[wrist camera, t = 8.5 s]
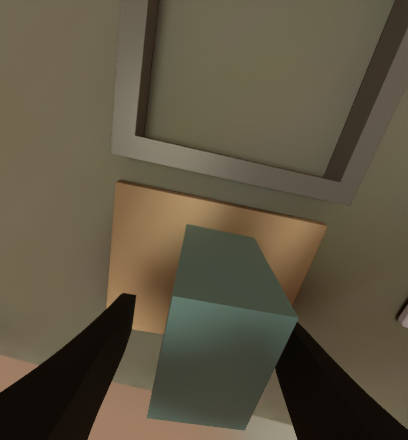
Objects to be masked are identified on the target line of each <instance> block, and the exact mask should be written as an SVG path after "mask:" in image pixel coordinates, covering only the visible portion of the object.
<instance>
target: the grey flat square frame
mask: <svg viewBox="0 0 408 440" xmlns="http://www.w3.org/2000/svg"><path fill="white" fill-rule="evenodd" d="M158 2H159V0H121V4H120V19H119V35H118V50H117V66H116V82H115V97H114V113H113V128H112V144H111V154H116V155H120V156H125V157H129V158H134V159H138V160H143V161H148V162H152V163H157V164H161V165H166V166H170V167H175V168H179V169H184V170H189V171H193V172H198V173H202V174H207V175H211V176H216V177H221V178H225V179H230V180H234V181H239V182H243V183H248V184H252V185H257V186H262V187H266V188H271V189H275V190H280V191H284V192H289V193H293V194H298V195H303V196H307V197H312V198H316V199H321V200H325V201H330V202H335V203H339V204H344V205H348V206H350V205H351V203H352V201H353V199H354V196H355V194H356V192H357V190H358V188H359V186H360V184H361V181H362V179H363V177H364V175H365V173H366V171H367V169H368V167H369V164H370V162H371V160H372V158H373V156H374V154H375V152H376V150H377V147H378V145H379V143H380V141H381V139H382V137H383V135H384V132H385V130H386V128H387V126H388V124H389V122H390V120H391V118H392V115H393V113H394V111H395V109H396V107H397V105H398V103H399V101H400V98H401V96H402V94H403V92H404V90H405V88H406V86H407V83H408V0H396V1H395V3H394V6H393V8H392V11H391V13H390V15H389V18H388V20H387V23H386V25H385V28H384V30H383V33H382V35H381V38H380V40H379V43H378V45H377V47H376V50H375V52H374V55H373V57H372V60H371V62H370V65H369V67H368V70H367V72H366V75H365V77H364V79H363V82H362V84H361V87H360V89H359V92H358V94H357V97H356V99H355V102H354V104H353V107H352V109H351V112H350V114H349V116H348V119H347V121H346V124H345V126H344V129H343V131H342V134H341V136H340V139H339V141H338V144H337V146H336V148H335V151H334V153H333V156H332V158H331V161H330V163H329V166H328V168H327V171H326V173H325V176H324V178H322V177H318V176H313V175H309V174H305V173H300V172H296V171H292V170H287V169H283V168H278V167H274V166H270V165H265V164H261V163H257V162H252V161H248V160H243V159H239V158H235V157H230V156H226V155H221V154H217V153H213V152H208V151H204V150H200V149H195V148H191V147H186V146H182V145H178V144H173V143H169V142H165V141H160V140H156V139H151V138H147V137H144V128H145V119H146V110H147V101H148V92H149V83H150V74H151V65H152V56H153V47H154V38H155V29H156V20H157V11H158Z"/></svg>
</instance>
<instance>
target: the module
mask: <svg viewBox="0 0 408 440" xmlns="http://www.w3.org/2000/svg"><path fill="white" fill-rule="evenodd" d="M297 320H298V316H297V314H296V312H295V311H294V309H293V307H292V305H291V303H290V302H289V300H288V298H287V296H286V294H285V293H284V291H283V289H282V287H281V285H280V284H279V282H278V280H277V278H276V276H275V274H274V273H273V271H272V269H271V267H270V265H269V264H268V262H267V260H266V258H265V256H264V255H263V253H262V251H261V249H260V247H259V246H258V244H257V242H256V240H255V238H253V237H248V236H243V235H238V234H233V233H228V232H224V231H219V230H214V229H209V228H204V227H199V226H194V225H189V224H187V225H186V229H185V234H184V239H183V244H182V248H181V253H180V258H179V263H178V267H177V272H176V277H175V282H174V286H173V291H172V296H171V301H170V306H169V310H168V315H167V320H166V325H165V330H164V335H163V340H162V345H161V350H160V355H159V360H158V365H157V370H156V375H155V380H154V385H153V390H152V395H151V400H150V405H149V410H148V415H147V418H150V419H159V420H166V421H174V422H182V423H190V424H198V425H206V426H214V427H222V428H230V429H238V430H245V428H246V426H247V424H248V422H249V420H250V418H251V416H252V414H253V412H254V410H255V408H256V406H257V404H258V402H259V399H260V397H261V395H262V393H263V391H264V389H265V387H266V385H267V383H268V381H269V379H270V377H271V374H272V372H273V370H274V368H275V366H276V364H277V362H278V360H279V358H280V356H281V354H282V352H283V350H284V347H285V345H286V343H287V341H288V339H289V337H290V335H291V333H292V331H293V329H294V327H295V325H296V322H297Z"/></svg>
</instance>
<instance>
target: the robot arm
mask: <svg viewBox="0 0 408 440" xmlns="http://www.w3.org/2000/svg"><path fill="white" fill-rule="evenodd" d="M135 303H136V295H133V294H127V293H122V294H120V295H119V297H118V298H117V299H116V300H115V301H114V302H113V303H112V304H111V305H110V306H109V307H108V308H107V309H106V310H105V311H104V312H103V313H102V314H101V315H100V316H99V317H97V318H96V319H95V320H94V321H93V322H92V323H91V324H90V325H89V326H88V327H87V328H85V329H84V330H83V331H82V332H81V333H80V334H78V335H77V336H76V337H75V338H74V339H72V340H71V341H70V342H69V343H68V344H66V345H65V346H64V347H63V348H62V349H60V350H59V351H58V352H56V353H55V354H54V355H53V356H51V357H50V358H49V359H47V360H46V361H45V362H43V363H42V364H41V365H39V366H38V367H37V368H35V369H34V370H32V371H31V372H30V373H28V374H27V375H25V376H24V377H22V378H21V379H20V380H18V381H17V382H15V383H14V384H12V385H11V386H9V387H8V388H6V389H5V390H4V391H2V392H0V440H87V439H88V436H89V434H90V431H91V428H92V426H93V423H94V421H95V418H96V416H97V413H98V411H99V409H100V406H101V404H102V402H103V400H104V397H105V395H106V393H107V391H108V388H109V386H110V384H111V381H112V379H113V377H114V375H115V372H116V370H117V368H118V366H119V363H120V361H121V359H122V356H123V354H124V352H125V349H126V346H127V343H128V340H129V337H130V333H131V330H132V325H133V318H134V310H135ZM398 322H399V323H400V324H401V325H402V326H403V327H406V328H408V305H407V306H406V308H405V309H404V310H403V312H402V313H401V315H400V316H399V318H398ZM275 369H276V373H277V377H278V380H279V384H280V387H281V390H282V393H283V396H284V399H285V402H286V405H287V408H288V412H289V415H290V418H291V421H292V424H293V427H294V430H295V433H296V436H297V440H408V430H407V429H406V428H405V427H404V426H403V425H401V424H400V423H399V422H398V421H397V420H396V419H395V418H394V417H392V416H391V415H390V414H389V413H388V412H387V411H386V410H385V409H383V408H382V407H381V406H380V405H379V404H378V403H377V402H376V401H375V400H374V399H372V398H371V397H370V396H369V395H368V394H367V393H366V392H365V391H364V390H363V389H362V388H361V387H360V386H359V385H358V384H357V383H356V382H355V381H354V380H353V379H352V378H351V377H350V376H349V375H348V374H347V373H346V372H345V371H344V370H343V369H342V368H341V367H340V366H339V365H338V364H337V363H336V362H335V361H334V360H333V359H332V358H331V357H330V356H329V355H328V354H327V353H326V351H325V350H324V349H323V348H322V347H321V346H320V345H319V344H318V343H317V342H316V341H315V340H314V339H313V338H312V337H311V335H310V334H309V333H308V332H307V331H306V330H305V329H304V328H303V327H302V326H301V325H300V324H299V323H298V322H296V325H295V327H294V329H293V331H292V333H291V335H290V337H289V339H288V341H287V343H286V345H285V347H284V350H283V352H282V354H281V356H280V358H279V360H278V362H277V364H276V366H275Z"/></svg>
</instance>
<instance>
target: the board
mask: <svg viewBox="0 0 408 440" xmlns="http://www.w3.org/2000/svg"><path fill="white" fill-rule="evenodd" d="M187 224H189V225H194V226H199V227H204V228H209V229H214V230H219V231H224V232H228V233H233V234H238V235H243V236H248V237H253V238H255V240H256V242H257V244H258V246H259V247H260V249H261V251H262V253H263V255H264V256H265V258H266V260H267V262H268V264H269V265H270V267H271V269H272V271H273V273H274V274H275V276H276V278H277V280H278V282H279V284H280V285H281V287H282V289H283V291H284V293H285V294H286V296H287V298H288V300H289V302H290V303H291V305H292V306H293V303H294V301H295V299H296V297H297V294H298V292H299V290H300V288H301V285H302V283H303V281H304V279H305V277H306V274H307V272H308V270H309V268H310V265H311V263H312V261H313V259H314V256H315V254H316V252H317V250H318V248H319V245H320V243H321V241H322V239H323V236H324V234H325V232H326V230H327V227H328V226H327V225H325V224H324V223H322V222H318V221H313V220H308V219H303V218H298V217H294V216H289V215H284V214H279V213H275V212H270V211H265V210H260V209H256V208H251V207H246V206H241V205H237V204H232V203H227V202H222V201H218V200H213V199H208V198H203V197H198V196H194V195H189V194H184V193H179V192H175V191H170V190H165V189H160V188H156V187H151V186H146V185H141V184H137V183H132V182H127V181H122V180H119V181H117V182H116V188H115V202H114V215H113V228H112V241H111V255H110V268H109V281H108V295H107V308H108V307H109V306H110V305H111V304H112V303H113V302H114V301H115V300H116V299H117V298H118V297H119V295H120V294H122V293H127V294H133V295H136V303H135V310H134V318H133V325H132V329H133V330H140V331H146V332H153V333H159V334H164V330H165V325H166V320H167V315H168V310H169V306H170V301H171V296H172V291H173V286H174V282H175V277H176V272H177V267H178V263H179V258H180V253H181V248H182V244H183V239H184V234H185V229H186V225H187ZM107 308H106V309H107Z"/></svg>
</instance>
